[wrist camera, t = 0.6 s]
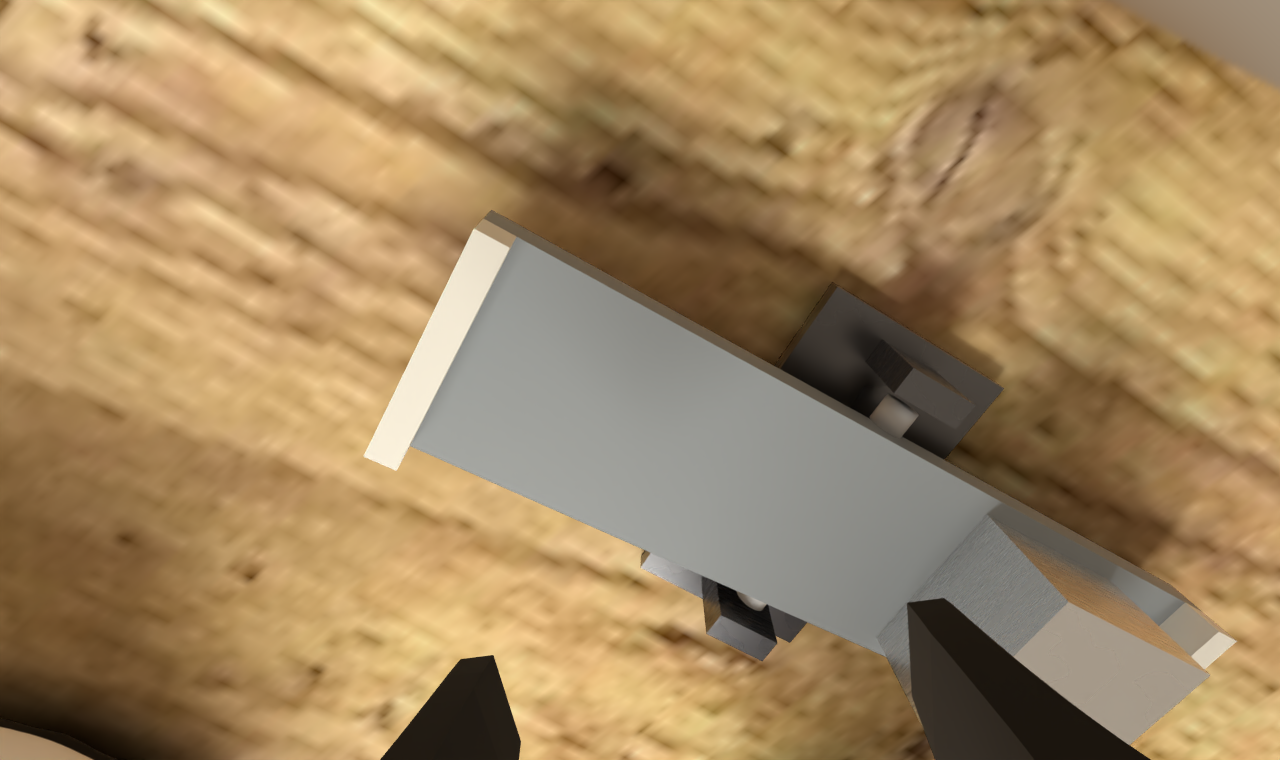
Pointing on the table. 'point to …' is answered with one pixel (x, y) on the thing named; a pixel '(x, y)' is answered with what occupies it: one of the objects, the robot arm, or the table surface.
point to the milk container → (42, 744)
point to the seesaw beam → (702, 447)
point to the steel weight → (1057, 628)
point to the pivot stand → (859, 378)
